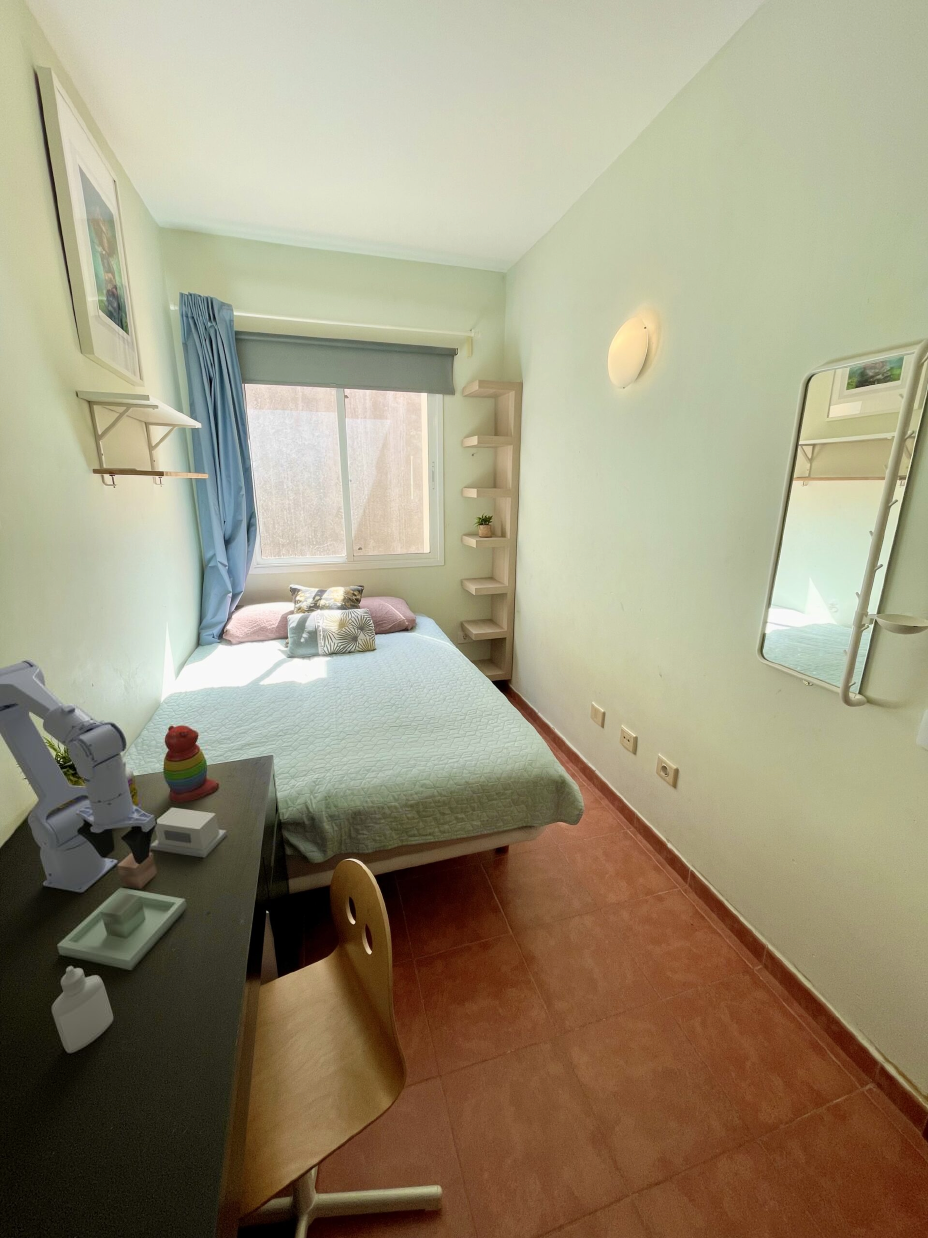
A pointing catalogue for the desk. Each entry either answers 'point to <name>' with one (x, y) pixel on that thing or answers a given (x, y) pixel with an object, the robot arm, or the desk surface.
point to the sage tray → (117, 951)
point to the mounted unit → (187, 832)
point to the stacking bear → (186, 766)
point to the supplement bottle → (132, 785)
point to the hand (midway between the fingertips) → (125, 857)
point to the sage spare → (123, 915)
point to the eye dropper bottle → (81, 1009)
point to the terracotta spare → (136, 871)
